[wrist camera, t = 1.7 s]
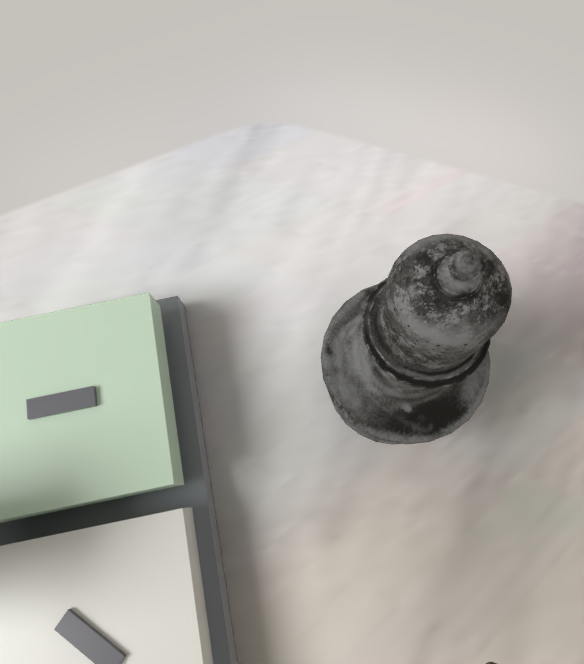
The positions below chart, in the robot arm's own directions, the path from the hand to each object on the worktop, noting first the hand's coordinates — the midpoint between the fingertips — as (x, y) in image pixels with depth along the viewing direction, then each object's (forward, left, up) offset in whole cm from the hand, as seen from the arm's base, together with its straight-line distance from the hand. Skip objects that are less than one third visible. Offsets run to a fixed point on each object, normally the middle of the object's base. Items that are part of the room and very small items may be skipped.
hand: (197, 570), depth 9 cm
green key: (+6, +6, -13) cm, 16 cm away
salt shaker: (+5, -6, -13) cm, 15 cm away
